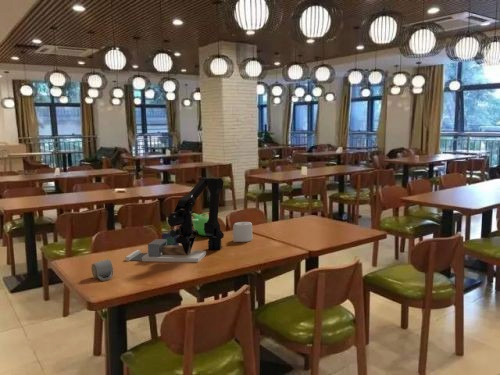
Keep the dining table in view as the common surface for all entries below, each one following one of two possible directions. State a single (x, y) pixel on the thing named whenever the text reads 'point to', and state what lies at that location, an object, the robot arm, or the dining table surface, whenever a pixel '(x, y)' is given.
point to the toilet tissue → (242, 232)
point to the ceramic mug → (102, 269)
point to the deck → (166, 257)
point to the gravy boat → (200, 222)
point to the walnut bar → (174, 250)
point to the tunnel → (156, 247)
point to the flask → (169, 238)
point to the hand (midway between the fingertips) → (188, 252)
